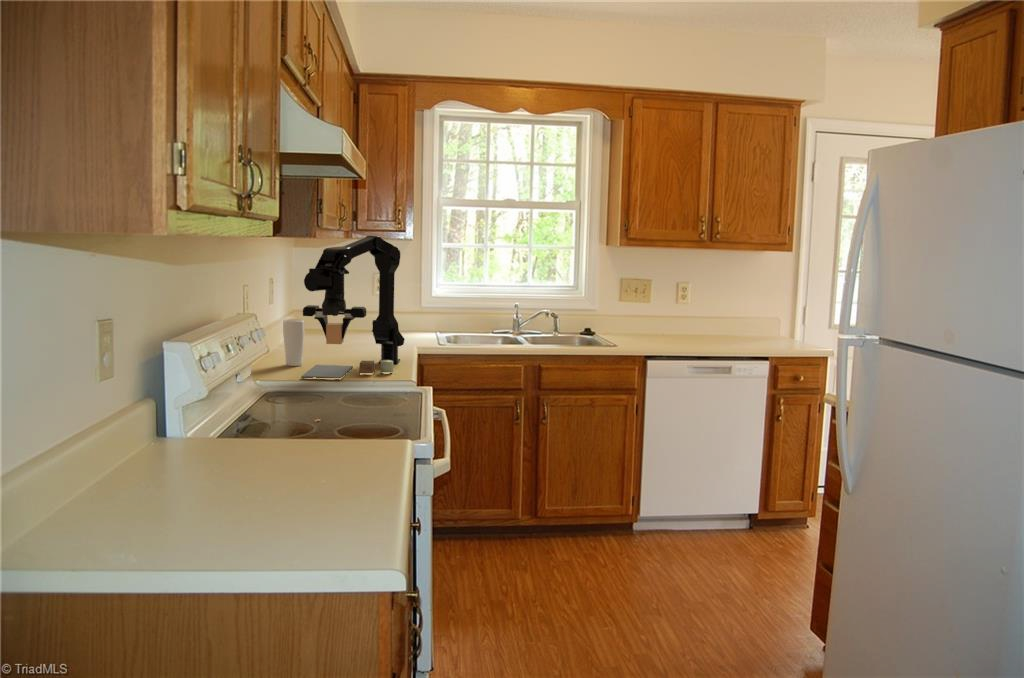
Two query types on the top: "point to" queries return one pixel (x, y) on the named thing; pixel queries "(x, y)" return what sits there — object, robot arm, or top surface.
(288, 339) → the drinking glass
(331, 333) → the terracotta block
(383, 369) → the sage cylinder
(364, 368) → the walnut block
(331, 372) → the slate mat
